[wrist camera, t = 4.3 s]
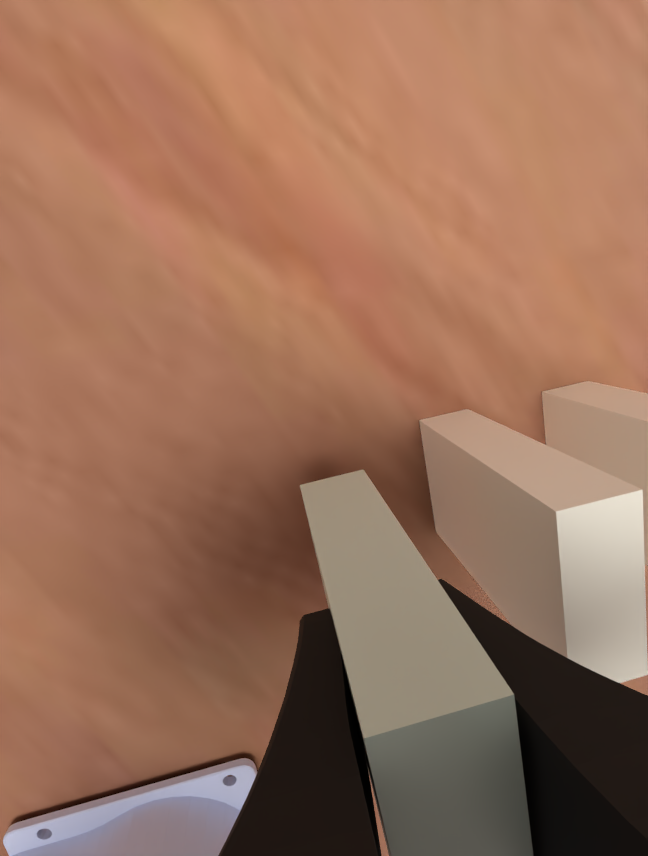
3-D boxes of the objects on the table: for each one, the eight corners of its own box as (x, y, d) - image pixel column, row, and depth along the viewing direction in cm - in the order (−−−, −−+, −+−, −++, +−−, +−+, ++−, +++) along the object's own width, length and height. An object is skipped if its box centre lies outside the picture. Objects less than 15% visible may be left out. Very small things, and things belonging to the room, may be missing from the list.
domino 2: (435, 532, 18) (570, 696, 10) (418, 420, 17) (555, 511, 9) (481, 520, 18) (647, 674, 10) (467, 409, 17) (642, 489, 9)
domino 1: (331, 620, 14) (421, 986, 7) (299, 485, 13) (363, 737, 5) (389, 604, 14) (544, 944, 7) (363, 469, 13) (514, 694, 6)
